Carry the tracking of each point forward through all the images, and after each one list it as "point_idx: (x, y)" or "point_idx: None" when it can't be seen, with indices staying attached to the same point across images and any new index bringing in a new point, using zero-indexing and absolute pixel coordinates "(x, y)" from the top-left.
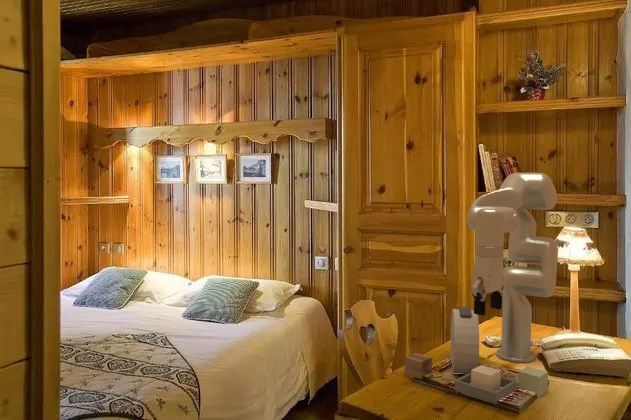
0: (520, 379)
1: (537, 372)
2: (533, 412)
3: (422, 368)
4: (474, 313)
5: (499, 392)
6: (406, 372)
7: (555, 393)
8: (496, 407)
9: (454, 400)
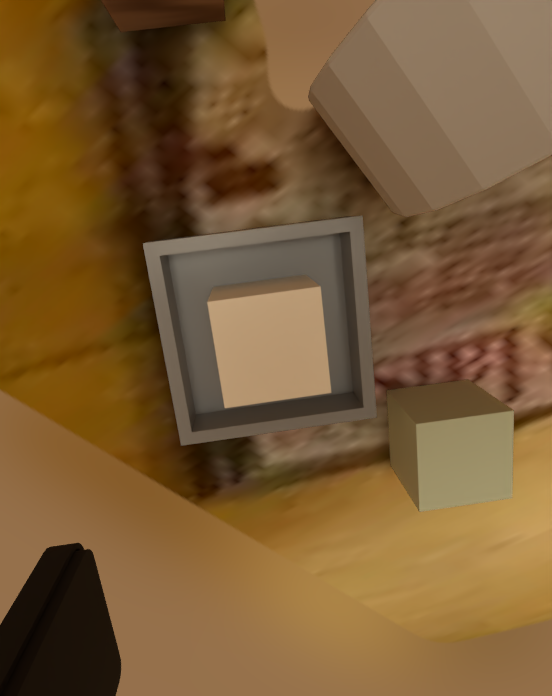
0: (404, 418)
1: (467, 479)
2: (253, 522)
3: (118, 1)
4: (52, 553)
5: (211, 439)
6: None
7: None
8: None
9: (86, 295)
